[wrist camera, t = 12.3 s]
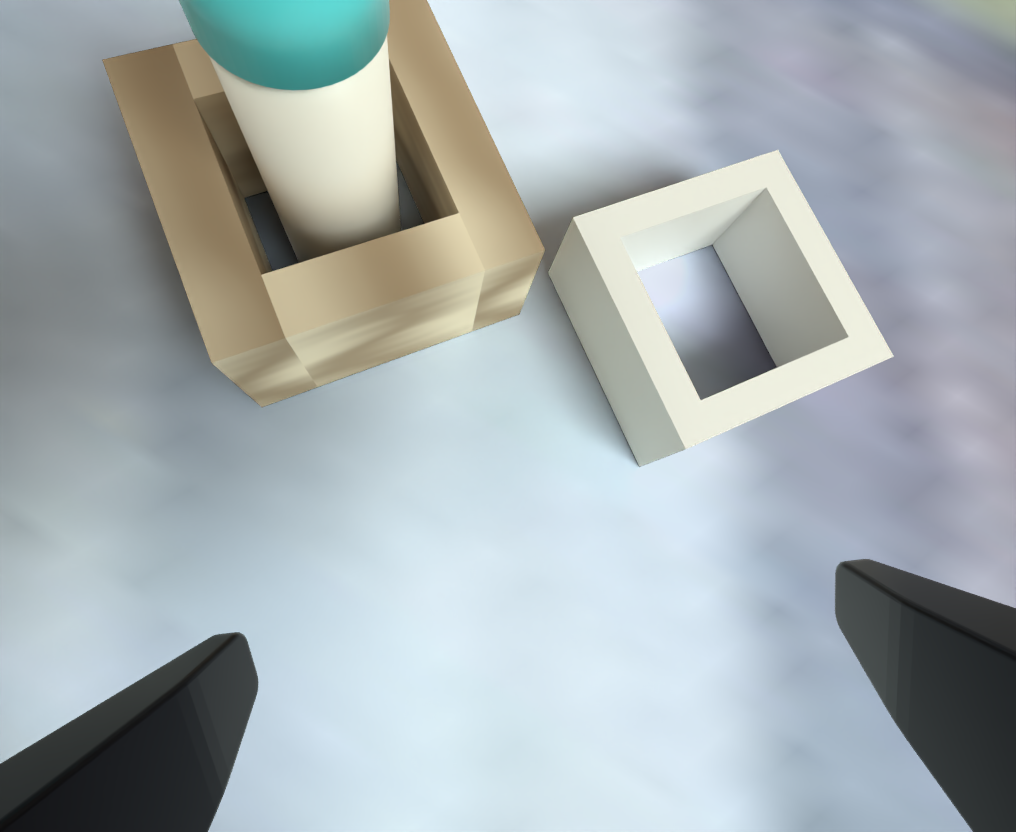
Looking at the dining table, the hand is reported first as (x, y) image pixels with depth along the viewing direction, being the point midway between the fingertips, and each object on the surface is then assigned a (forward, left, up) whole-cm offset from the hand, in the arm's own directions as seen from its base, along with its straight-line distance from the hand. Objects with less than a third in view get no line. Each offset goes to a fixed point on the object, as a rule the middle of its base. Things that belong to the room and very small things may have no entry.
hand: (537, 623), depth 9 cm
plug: (0, +13, -12) cm, 18 cm away
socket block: (0, +13, -12) cm, 18 cm away
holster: (+11, +5, -12) cm, 17 cm away
